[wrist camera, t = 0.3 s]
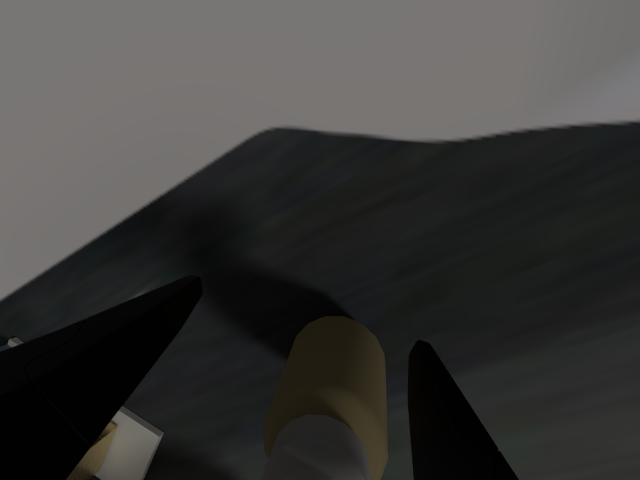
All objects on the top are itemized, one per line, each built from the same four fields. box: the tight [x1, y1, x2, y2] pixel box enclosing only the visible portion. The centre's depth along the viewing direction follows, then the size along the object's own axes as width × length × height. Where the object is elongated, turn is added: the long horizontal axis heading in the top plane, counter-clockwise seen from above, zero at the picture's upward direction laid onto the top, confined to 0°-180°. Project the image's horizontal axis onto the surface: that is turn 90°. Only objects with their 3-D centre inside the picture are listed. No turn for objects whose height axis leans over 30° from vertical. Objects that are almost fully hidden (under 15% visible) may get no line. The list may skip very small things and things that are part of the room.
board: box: [8, 338, 164, 480], centre depth 29 cm, size 22×8×1 cm, turn 65°
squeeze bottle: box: [261, 316, 388, 480], centre depth 15 cm, size 8×8×18 cm
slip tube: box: [66, 422, 117, 480], centre depth 23 cm, size 11×6×11 cm, turn 66°
